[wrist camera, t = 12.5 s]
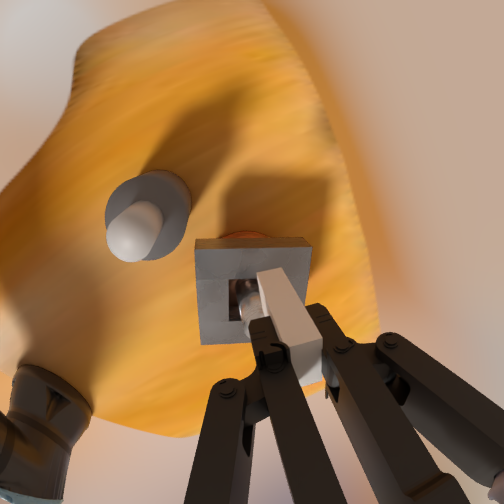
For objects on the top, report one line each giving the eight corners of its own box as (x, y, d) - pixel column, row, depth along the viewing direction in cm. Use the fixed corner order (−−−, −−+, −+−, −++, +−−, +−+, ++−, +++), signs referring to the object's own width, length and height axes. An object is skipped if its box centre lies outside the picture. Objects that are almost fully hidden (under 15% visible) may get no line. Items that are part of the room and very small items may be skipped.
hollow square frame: (200, 328, 25) (201, 344, 23) (195, 238, 22) (194, 249, 19) (292, 323, 26) (299, 337, 24) (302, 237, 23) (312, 247, 21)
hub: (204, 309, 28) (205, 371, 19) (200, 231, 25) (198, 275, 16) (282, 305, 29) (309, 361, 21) (289, 230, 26) (327, 270, 18)
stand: (130, 235, 24) (92, 286, 14) (125, 172, 21) (76, 189, 12) (192, 234, 25) (184, 286, 15) (191, 168, 22) (179, 181, 13)
